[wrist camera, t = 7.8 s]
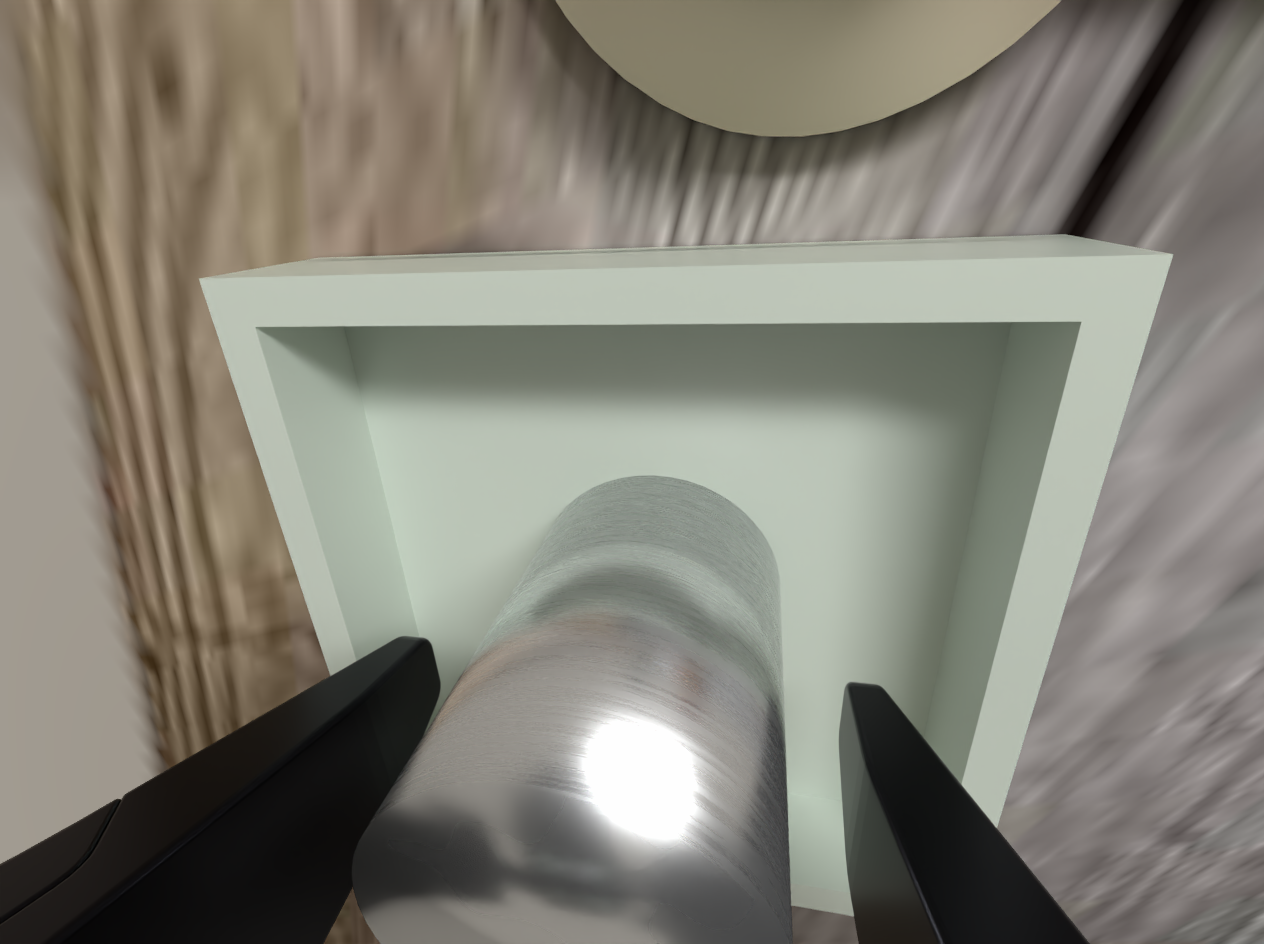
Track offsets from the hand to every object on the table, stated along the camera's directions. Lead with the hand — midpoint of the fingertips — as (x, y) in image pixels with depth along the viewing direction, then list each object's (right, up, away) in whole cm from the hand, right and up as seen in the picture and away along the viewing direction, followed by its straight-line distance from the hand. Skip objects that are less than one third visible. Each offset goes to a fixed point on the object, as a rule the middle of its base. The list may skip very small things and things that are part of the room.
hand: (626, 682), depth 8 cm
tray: (+1, +1, +3) cm, 3 cm away
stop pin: (+1, +1, +2) cm, 2 cm away
